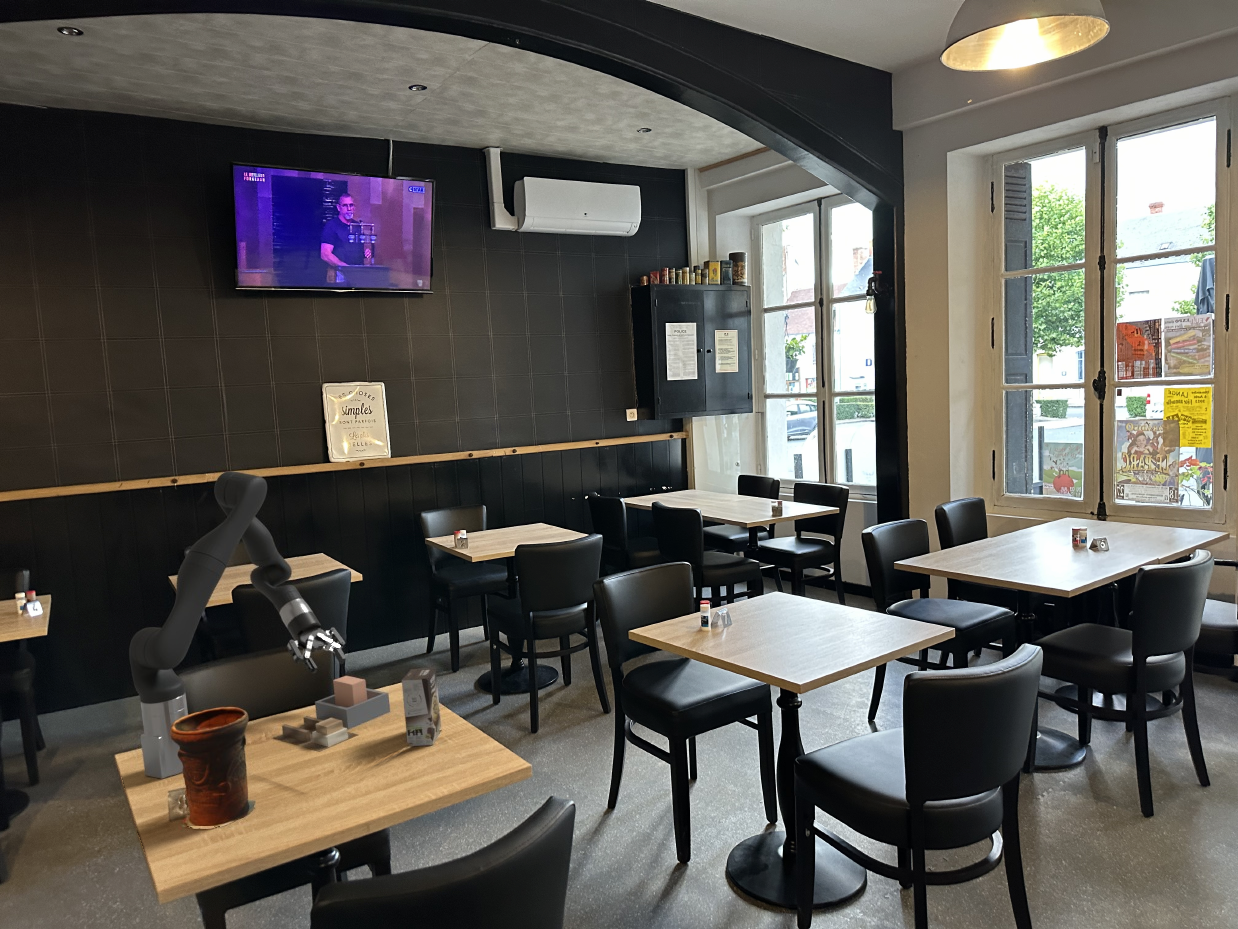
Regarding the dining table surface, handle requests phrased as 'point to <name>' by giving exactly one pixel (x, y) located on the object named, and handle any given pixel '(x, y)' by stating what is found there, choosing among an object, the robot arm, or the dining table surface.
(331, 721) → the upper offcut
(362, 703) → the charcoal bin
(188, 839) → the dining table surface
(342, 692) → the salmon pink block
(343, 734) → the block
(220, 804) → the vessel
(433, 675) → the coffee box
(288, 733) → the walnut rack
